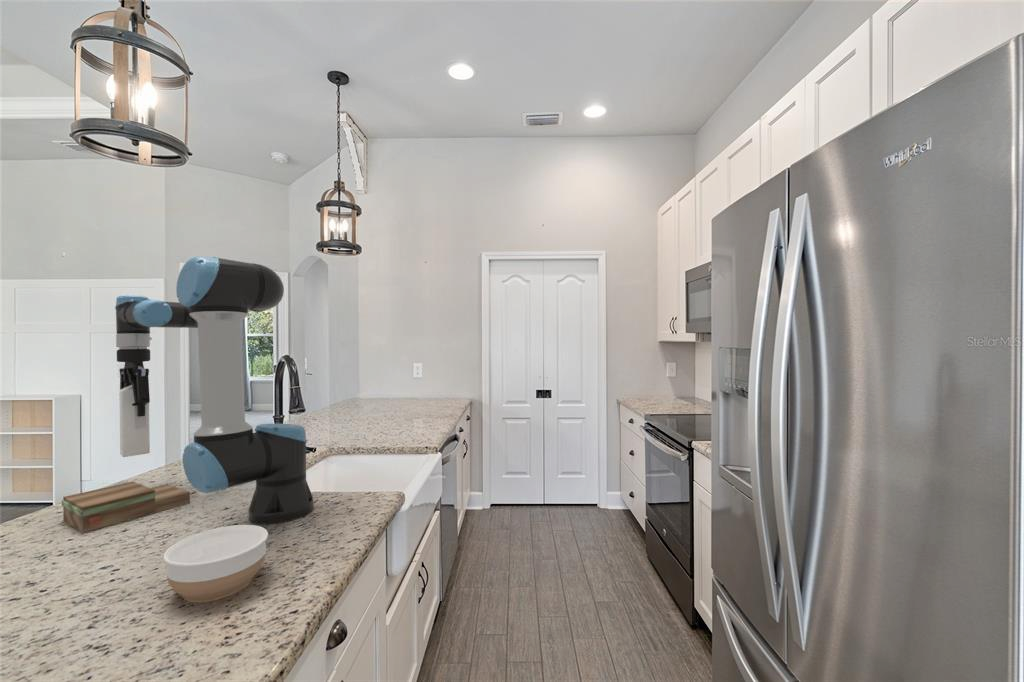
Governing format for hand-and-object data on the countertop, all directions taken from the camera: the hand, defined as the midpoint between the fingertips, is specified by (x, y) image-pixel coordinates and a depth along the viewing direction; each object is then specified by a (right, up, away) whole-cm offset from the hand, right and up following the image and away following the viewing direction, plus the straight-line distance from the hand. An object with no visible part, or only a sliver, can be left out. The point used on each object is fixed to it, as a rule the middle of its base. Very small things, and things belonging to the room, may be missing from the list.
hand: (134, 426), depth 129 cm
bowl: (+57, -20, -48) cm, 77 cm away
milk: (0, -8, 0) cm, 8 cm away
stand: (+10, -20, -13) cm, 26 cm away
